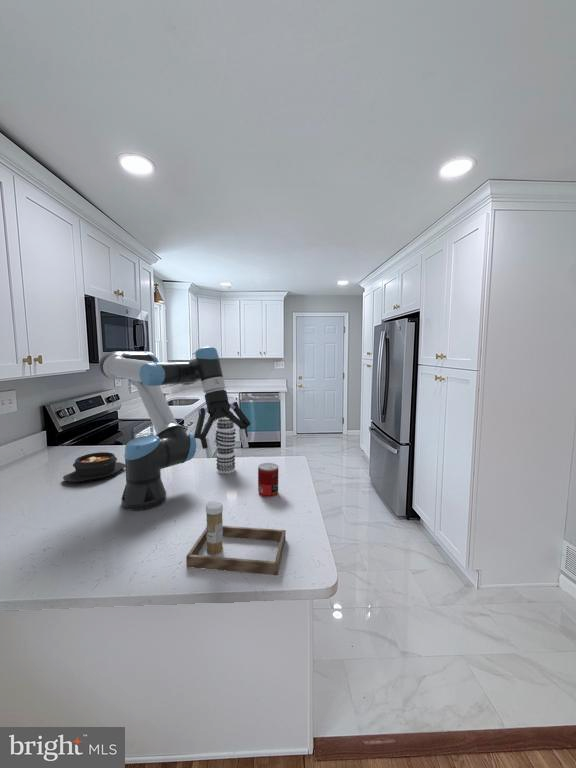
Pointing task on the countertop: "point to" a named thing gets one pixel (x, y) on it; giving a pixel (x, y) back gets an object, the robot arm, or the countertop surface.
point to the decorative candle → (225, 445)
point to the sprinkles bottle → (214, 527)
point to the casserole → (94, 467)
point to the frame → (236, 563)
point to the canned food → (268, 479)
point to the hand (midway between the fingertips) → (228, 452)
